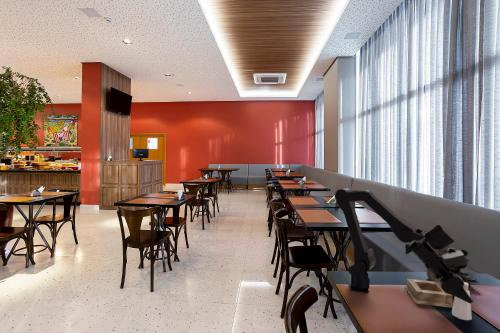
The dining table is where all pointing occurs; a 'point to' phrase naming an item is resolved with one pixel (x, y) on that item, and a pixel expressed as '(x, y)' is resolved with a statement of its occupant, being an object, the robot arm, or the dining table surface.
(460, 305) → the pepper shaker
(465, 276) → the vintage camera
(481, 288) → the dining table surface
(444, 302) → the socket holder
